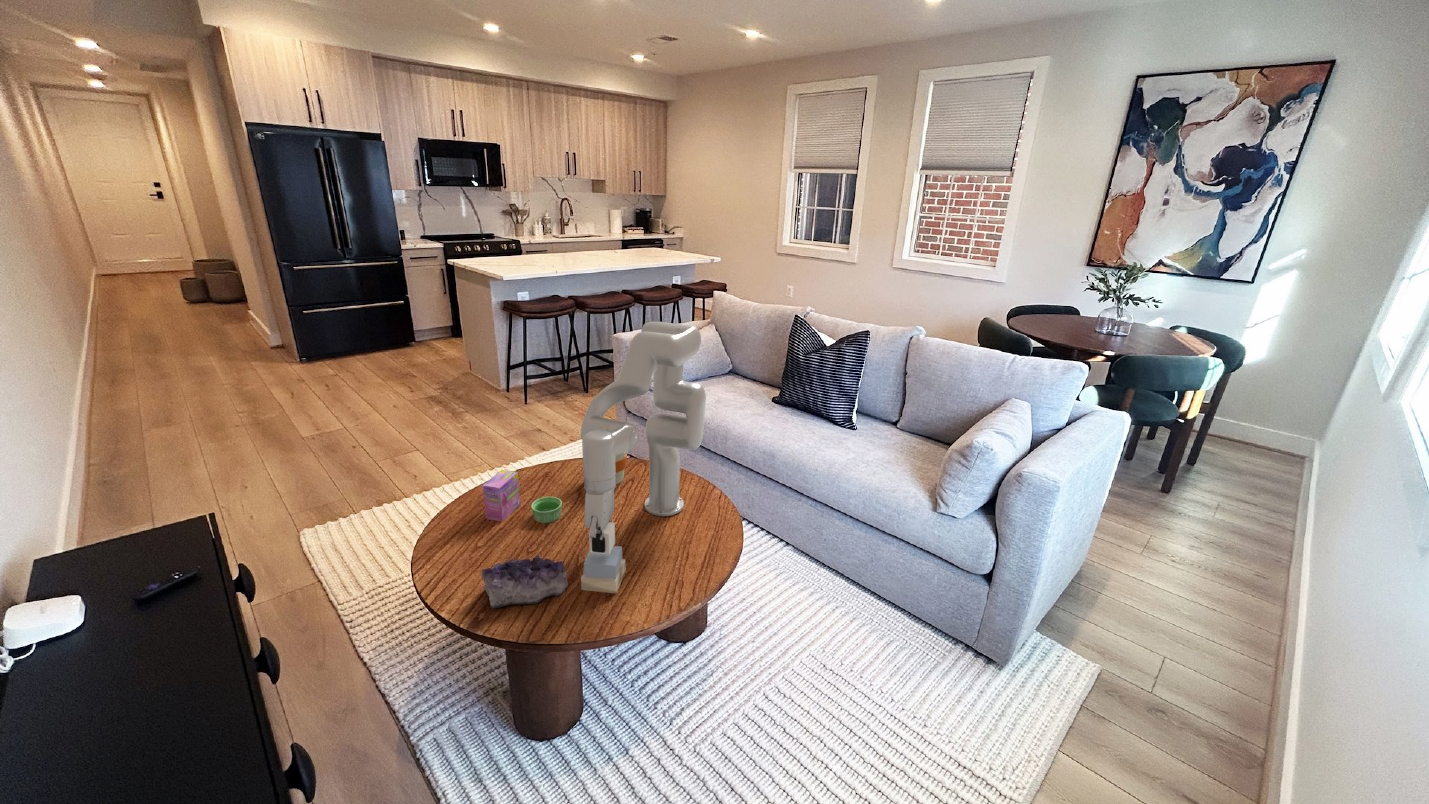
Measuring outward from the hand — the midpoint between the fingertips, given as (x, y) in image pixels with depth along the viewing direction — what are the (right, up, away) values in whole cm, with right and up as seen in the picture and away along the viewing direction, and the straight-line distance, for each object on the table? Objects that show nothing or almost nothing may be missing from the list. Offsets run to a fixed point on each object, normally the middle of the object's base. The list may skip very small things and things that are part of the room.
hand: (602, 544), depth 139 cm
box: (-37, +2, +32) cm, 49 cm away
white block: (0, -1, 0) cm, 1 cm away
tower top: (0, -7, +3) cm, 8 cm away
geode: (-19, -12, -1) cm, 22 cm away
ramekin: (-23, 0, +31) cm, 39 cm away
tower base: (0, -11, +4) cm, 12 cm away
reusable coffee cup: (-8, +9, +54) cm, 55 cm away
